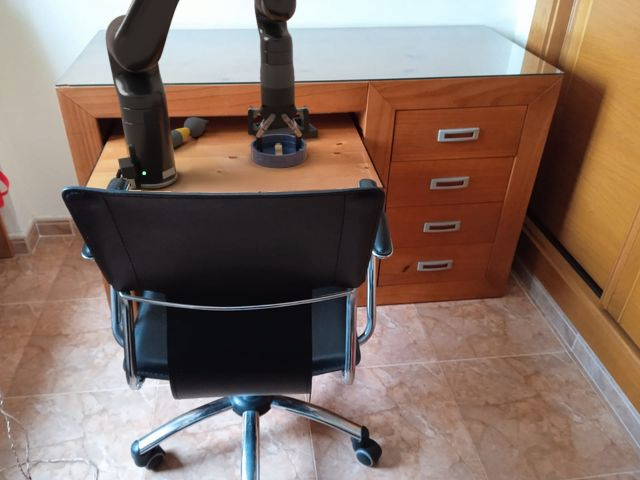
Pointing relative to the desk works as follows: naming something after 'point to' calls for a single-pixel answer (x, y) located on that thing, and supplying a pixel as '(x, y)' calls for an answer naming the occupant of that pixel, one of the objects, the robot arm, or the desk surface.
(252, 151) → the bowl
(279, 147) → the wooden stick
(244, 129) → the desk surface
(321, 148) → the desk surface
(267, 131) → the pen tray
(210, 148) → the desk surface
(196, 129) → the paintbrush
